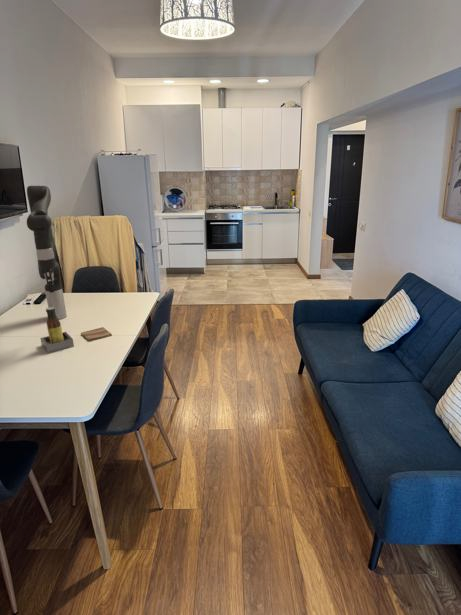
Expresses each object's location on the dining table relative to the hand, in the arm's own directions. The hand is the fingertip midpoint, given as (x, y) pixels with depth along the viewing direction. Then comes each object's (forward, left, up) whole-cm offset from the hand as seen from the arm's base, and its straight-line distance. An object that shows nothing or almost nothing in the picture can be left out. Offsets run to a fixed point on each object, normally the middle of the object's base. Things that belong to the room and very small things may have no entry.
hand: (52, 290), depth 202 cm
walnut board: (+5, +17, -27) cm, 32 cm away
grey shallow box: (+6, -3, -27) cm, 28 cm away
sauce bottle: (+6, -3, -27) cm, 28 cm away
